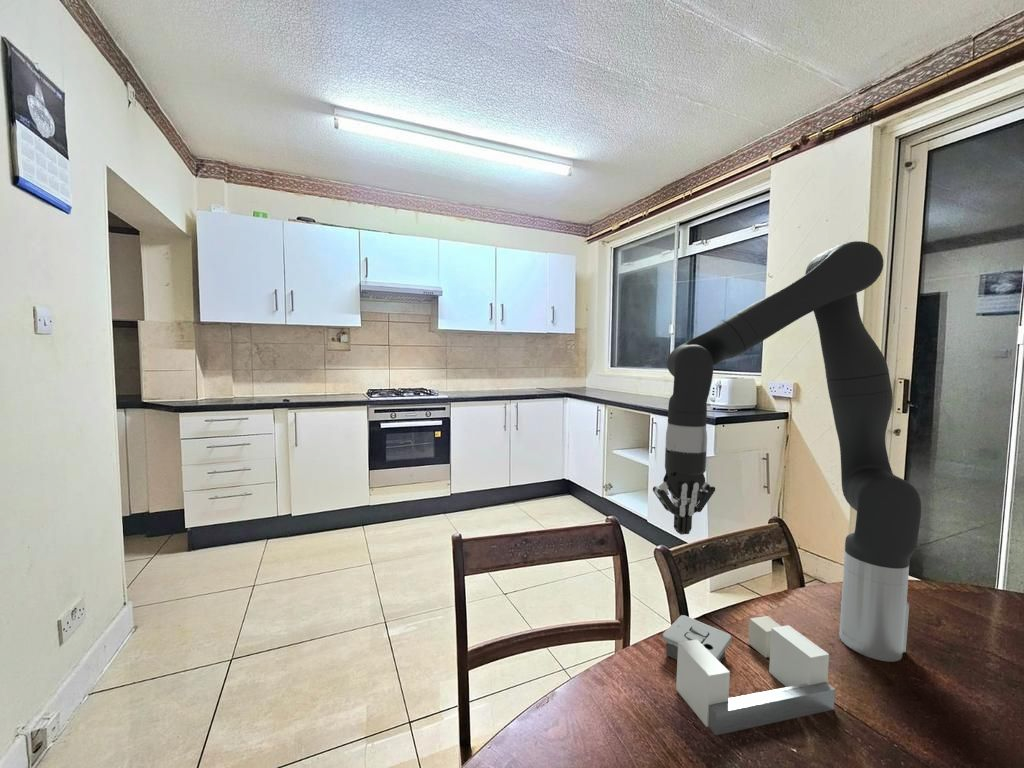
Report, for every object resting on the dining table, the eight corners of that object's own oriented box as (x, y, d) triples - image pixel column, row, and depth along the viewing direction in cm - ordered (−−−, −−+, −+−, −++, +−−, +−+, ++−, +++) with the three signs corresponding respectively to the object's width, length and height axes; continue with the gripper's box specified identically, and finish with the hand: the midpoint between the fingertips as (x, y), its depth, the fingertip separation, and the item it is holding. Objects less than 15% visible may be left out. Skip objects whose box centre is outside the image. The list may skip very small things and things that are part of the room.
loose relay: (766, 641, 83) (767, 615, 83) (783, 655, 80) (785, 628, 79) (748, 643, 83) (749, 618, 82) (765, 658, 79) (766, 631, 78)
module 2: (784, 668, 76) (787, 624, 75) (825, 703, 68) (829, 654, 68) (767, 671, 75) (770, 626, 75) (807, 706, 68) (810, 657, 67)
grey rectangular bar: (822, 701, 69) (823, 679, 69) (833, 710, 67) (835, 689, 67) (706, 725, 64) (707, 702, 64) (715, 736, 62) (716, 713, 62)
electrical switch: (716, 661, 72) (663, 627, 78) (708, 688, 73) (657, 651, 79) (734, 636, 79) (684, 606, 85) (727, 660, 80) (678, 629, 86)
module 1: (694, 684, 72) (696, 638, 71) (727, 723, 64) (729, 671, 64) (675, 688, 71) (677, 641, 71) (706, 727, 64) (709, 675, 63)
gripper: (702, 442, 91) (699, 523, 92) (645, 444, 88) (642, 528, 89) (728, 449, 84) (724, 537, 85) (666, 452, 81) (663, 543, 82)
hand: (682, 532), depth 87 cm, fingers closed
